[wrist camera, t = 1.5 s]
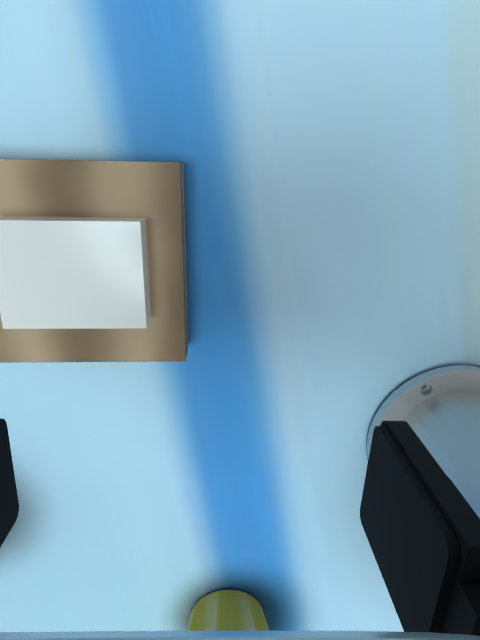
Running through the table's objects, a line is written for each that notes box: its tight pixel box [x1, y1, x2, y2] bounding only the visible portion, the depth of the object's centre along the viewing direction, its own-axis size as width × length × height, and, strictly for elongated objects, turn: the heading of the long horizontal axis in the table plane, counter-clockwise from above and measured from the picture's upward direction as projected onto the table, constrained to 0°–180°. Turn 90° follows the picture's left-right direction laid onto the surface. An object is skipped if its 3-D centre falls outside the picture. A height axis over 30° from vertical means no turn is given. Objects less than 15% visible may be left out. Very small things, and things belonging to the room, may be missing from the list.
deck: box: [0, 159, 188, 362], centre depth 27 cm, size 12×12×3 cm
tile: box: [0, 216, 152, 329], centre depth 24 cm, size 8×6×2 cm
